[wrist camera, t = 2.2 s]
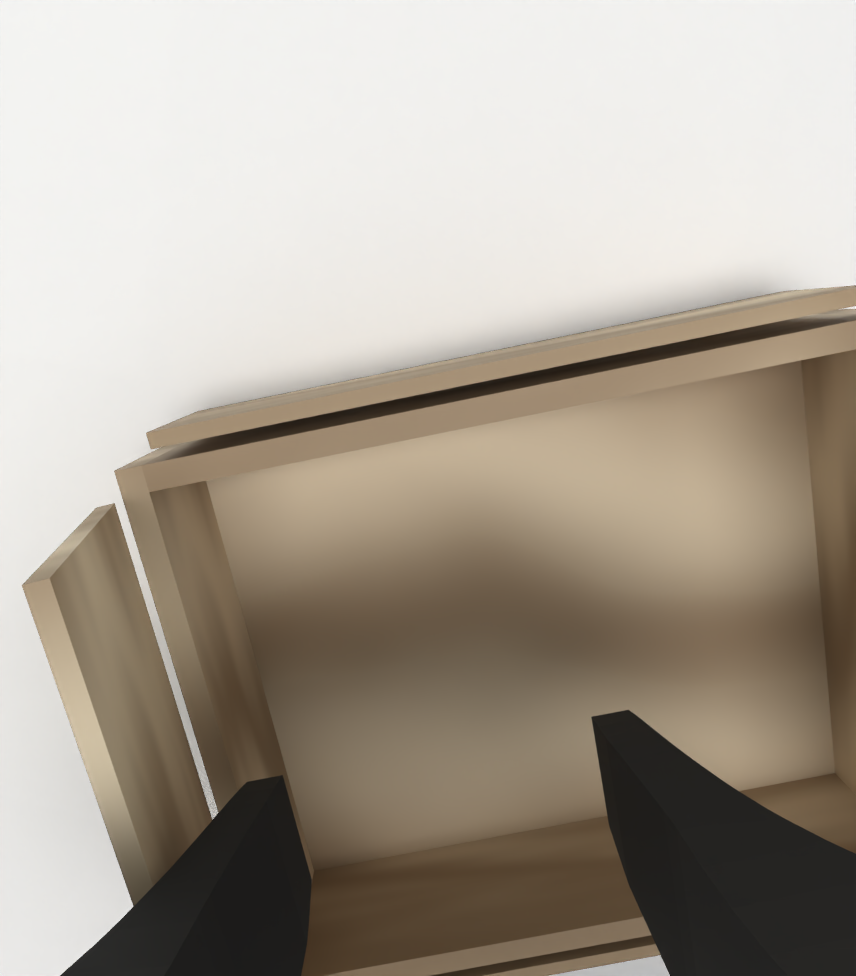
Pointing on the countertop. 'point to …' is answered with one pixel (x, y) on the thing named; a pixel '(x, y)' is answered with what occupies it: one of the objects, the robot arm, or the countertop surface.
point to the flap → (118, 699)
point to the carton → (517, 615)
